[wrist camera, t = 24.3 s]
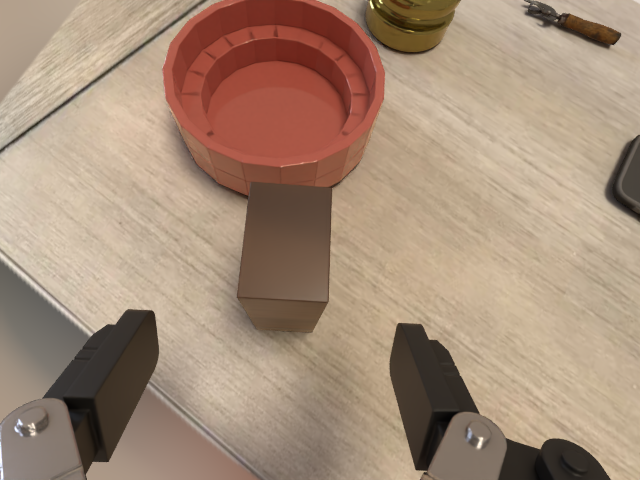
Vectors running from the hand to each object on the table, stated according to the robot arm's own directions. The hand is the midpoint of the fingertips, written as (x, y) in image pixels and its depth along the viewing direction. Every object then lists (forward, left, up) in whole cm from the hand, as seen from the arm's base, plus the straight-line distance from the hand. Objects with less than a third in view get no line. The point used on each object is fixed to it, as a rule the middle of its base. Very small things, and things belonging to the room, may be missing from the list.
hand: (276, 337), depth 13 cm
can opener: (+37, +12, -11) cm, 41 cm away
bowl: (+8, +15, -11) cm, 21 cm away
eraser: (+2, +3, -11) cm, 12 cm away
